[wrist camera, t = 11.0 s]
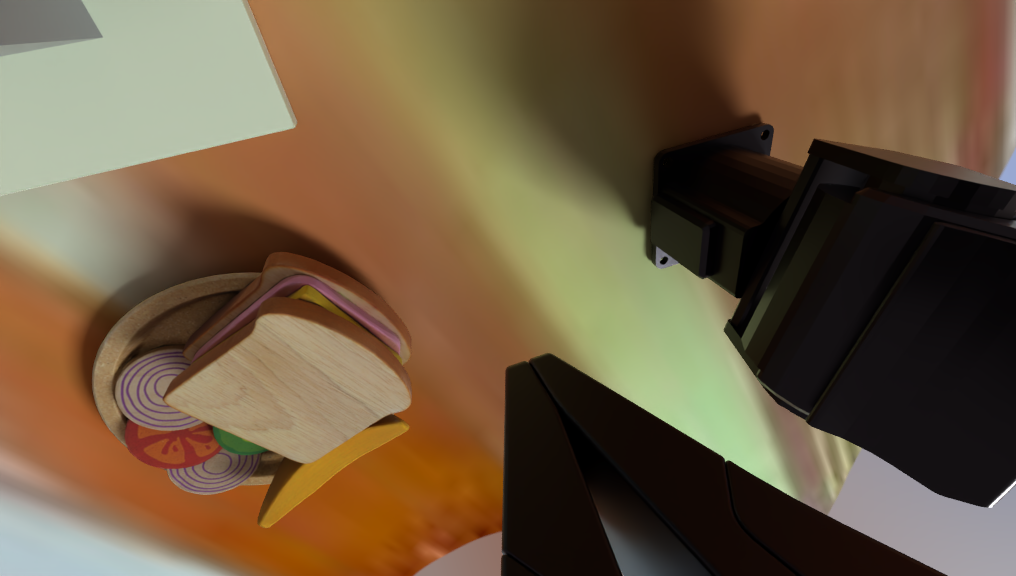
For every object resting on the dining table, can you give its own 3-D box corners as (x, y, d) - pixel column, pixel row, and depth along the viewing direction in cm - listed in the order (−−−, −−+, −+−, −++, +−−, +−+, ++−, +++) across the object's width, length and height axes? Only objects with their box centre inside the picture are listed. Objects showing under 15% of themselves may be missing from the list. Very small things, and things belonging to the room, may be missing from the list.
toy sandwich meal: (23, 371, 18) (-65, 467, 14) (301, 190, 18) (289, 238, 14) (260, 498, 25) (245, 584, 21) (461, 370, 25) (482, 435, 21)
